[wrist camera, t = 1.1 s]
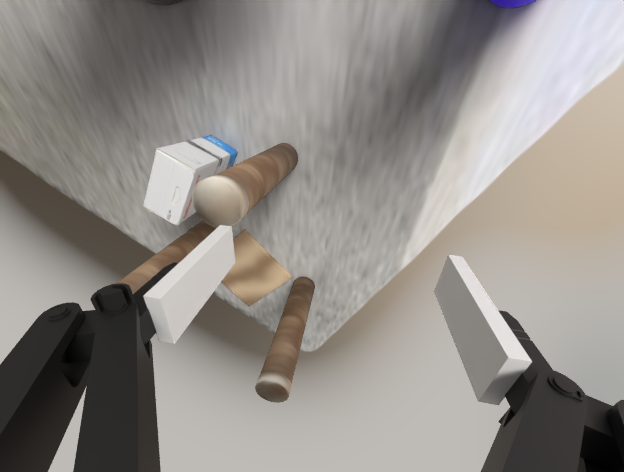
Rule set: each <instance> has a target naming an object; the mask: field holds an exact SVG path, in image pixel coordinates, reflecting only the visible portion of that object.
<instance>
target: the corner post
mask: <svg viewBox="0 0 624 472" xmlns="http://www.w3.org/2000/svg"><path fill="white" fill-rule="evenodd" d="M314 289H315V285H314V282H313V281H312V280H311V279H309V278H307V277H299V278H297V279H296V280H295V281H294V284H293V287H292V289H291V292H290V295H289V297H288V300H287V303H286V306H285V308H284V311H283V314H282V317H281V319H280V322H279V325H278V327H277V330H276V333H275V336H274V338H273V341H272V344H271V347H270V349H269V352H268V355H267V357H266V360H265V363H264V366H263V368H262V371H261V374H260V376H259V378H258V381H257V383H256V386H255V389H256V392H257V393H258V395H259V396H261V397H262V398H264V399H265V400H268V401H271V402H284V401H285V400H287V399H288V397H289V393H290V389H291V383H292V379H293V375H294V371H295V366H296V363H297V359H298V355H299V350H300V346H301V342H302V338H303V334H304V330H305V326H306V322H307V317H308V313H309V309H310V305H311V301H312V297H313V293H314Z"/></svg>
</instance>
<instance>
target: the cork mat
mask: <svg viewBox="0 0 624 472" xmlns="http://www.w3.org/2000/svg"><path fill="white" fill-rule="evenodd" d="M233 243H234V253H235V264H234V265H233V266H232V268H231V269H230V270H229V272H228V273H227V274H226V276H225V277H224V278H223V280H222V281H221V282H222V283H223V284H225V285H226V286H227V287H228V288H229V289H230V290H231V291H232V292H234V293H235V294H236V295H237V296H238V297H239V298H240V299H241V300H243V301H244V302H245V303H246V304H247V305H248V306H250V305H252V304H253V303H255V302H256V301H258V300H259V299H261V298H262V297H264V296H265V295H267V294H268V293H270V292H271V291H273V290H274V289H276V288H277V287H279V286H280V285H282V284H283V283H285V282H286V281H288V280H289V279H291V275H290V274H289V273H288V272H287V271H286V270H285V269H284V268H283V267H282V266H281V265H280V264H279V263H278V262H277V261H276V260H275V259H274V258H273V257H272V256H271V255H270V254H269V253H268V252H267V251H266V250H265V249H264V248H263V247H262V246H261V245H260V244H259V243H258V242H257V241H256V240H255V239H254V238H253V237H252V236H251V235H250V234H249V233H248V232H247V231H246V230H244V231H242V232H241V233H240V234H239V235H238V236H237V237H236V238H234V239H233Z"/></svg>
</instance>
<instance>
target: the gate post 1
mask: <svg viewBox="0 0 624 472" xmlns="http://www.w3.org/2000/svg"><path fill="white" fill-rule="evenodd" d="M215 229H216V227H213V226H211V225H209V224H207V223H206V222H205V221H203V220H202V221H201V222H199V223H198V224H197V225H195V226H194V227H193V228H191V229H190V230H189V231H187V232H186V233H184V234H183V235H182V236H180V237H179V238H178V239H176V240H175V241H174V242H172V243H171V244H169V245H168V246H167V247H165V248H164V249H163V250H161V251H160V252H158V253H157V254H156V255H154V256H153V257H152V258H150V259H149V260H148V261H146V262H145V263H143V264H142V265H141V266H139V267H138V268H137V269H135V270H134V271H133V272H131V273H130V274H128V275H127V276H126V277H124V278H123V279H122V280H120V281H119V282H117V283H124V284H127V285H129V286H130V288H131V290H132V293H133V294H134V293H135V292H136V291H137V290H138V289H140V288H141V287H142V286H143V285H144V284H145V283H147V282H148V281H149V280H151V278H152V277H153V276H155V275H157V273H158V272H159V271H160V270H161V269H163V268H164V267H165V266H167V265H169V264H171V263H173V262H176V263H180V262H181V261H182V260H183V259H184V258H185V257H186V256H187V255H188V254H189V253H190V252H191V251H193V250H194V249H195V248H196V247H197V246H198V245H199V244H200V243H201V242H202V241H203V240H205V239H206V238H207V237H208V236H209V235H210V234H211V233H212V232H213V231H214V230H215ZM117 283H116V284H117Z"/></svg>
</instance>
